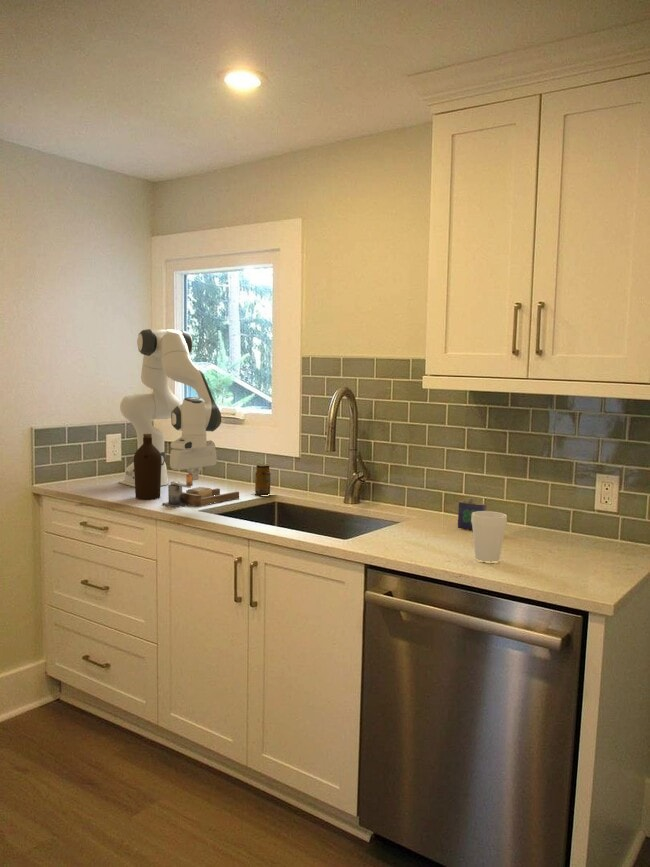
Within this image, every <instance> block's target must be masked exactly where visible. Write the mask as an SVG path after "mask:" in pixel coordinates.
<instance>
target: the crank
mask: <svg viewBox="0 0 650 867" xmlns="http://www.w3.org/2000/svg"><path fill="white" fill-rule="evenodd" d="M185 476H186V479H185V482H186V483H182V482H180V481H178V480H177V481H175V480H174V481H170V485H178V486H182V488H188V489H192V487H193V485H194V484H193V481H194V480H193V474H189V473H187V474H186V475H185Z"/></svg>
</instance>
